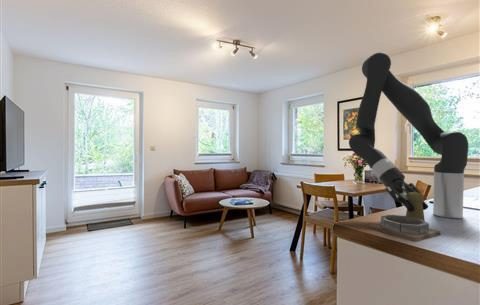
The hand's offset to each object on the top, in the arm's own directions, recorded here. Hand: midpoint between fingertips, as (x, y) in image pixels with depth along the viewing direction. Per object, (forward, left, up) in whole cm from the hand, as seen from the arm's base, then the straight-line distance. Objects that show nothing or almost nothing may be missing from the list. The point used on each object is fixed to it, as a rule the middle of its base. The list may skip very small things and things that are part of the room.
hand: (419, 209), depth 89 cm
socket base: (+12, +1, -5) cm, 13 cm away
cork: (0, -2, -5) cm, 6 cm away
